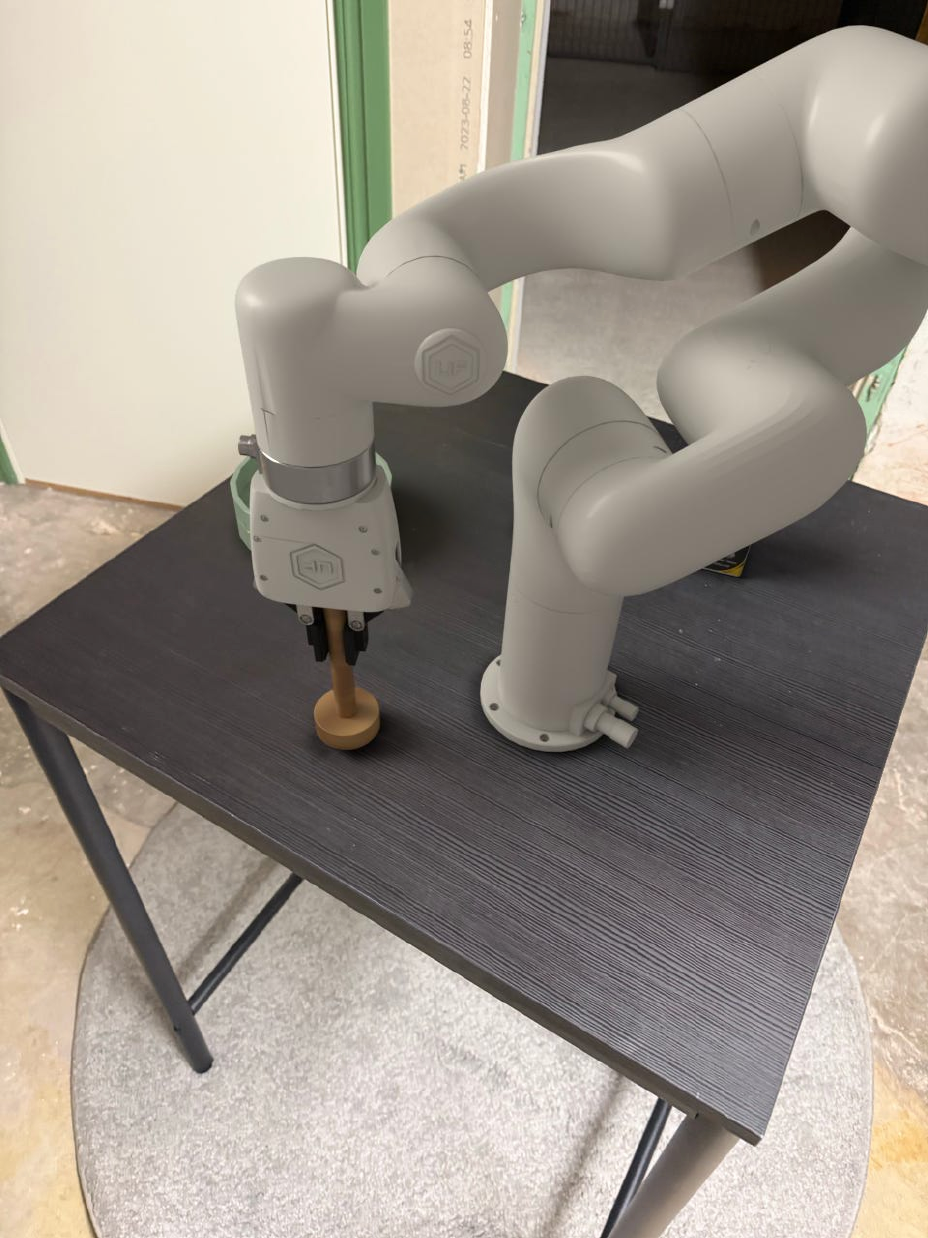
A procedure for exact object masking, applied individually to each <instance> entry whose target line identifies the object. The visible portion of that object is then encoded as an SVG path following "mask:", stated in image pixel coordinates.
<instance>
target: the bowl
mask: <svg viewBox="0 0 928 1238" xmlns="http://www.w3.org/2000/svg"><path fill="white" fill-rule="evenodd" d="M376 464H377V465H380V466H382V467H383V469H384V471H385V474H386V476H387V479H388V482H389V486H390V489H391V493H392V497H393V496H394V495H393V475H392V471H391V470H390V469H391V468H390V467H389V465H388V463H387V461H386V460H385V459H384V458H383V457H382V456H381V455H380V454H379V453H378V452H376ZM257 470H258V463H257V462H256V460H255V459H252V458H250V456H245V458H243V460H242V461H240V462H239V464H238V465H237V466H236V467H235V468H234V471H233V473H232V476H231V479H230V480H229V481H230V482H229V483H230V491H231V497H232V503H233V509H234V514H235V519H236V526H237V531H238V536H239V538H240V540H242V542H243V543H244V544H245V546H246V547H247V548H248V550H249V551H251V536H250V489H251V480H252V477H253V475H254V474H255V473H256V471H257ZM393 498H394V497H393Z"/></svg>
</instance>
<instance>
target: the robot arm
mask: <svg viewBox="0 0 928 1238" xmlns="http://www.w3.org/2000/svg"><path fill="white" fill-rule="evenodd" d="M820 211H828V212H829V213H831V214H832V215H834V216H835V217H837V219H840V220H842V222H844V223H846V225H848V226H849V229H848V230H847V232H846V233H845V234H844V235H843V237H842V238H841V240H839V241H838V242H837V243H836V245H835V246H834V247H833V248H832V249H830V250H829V251H828V252H827V253H825V254H824V255H822V257H820V258H818V259H817V260H816V261H814V262H813V263H811V264H809V265H808V266H806V267H804V268H802V269H800V270H799V271H798V272H796V273H795V274H793V275H791V276H789V277H787V278H786V279H784V280H781V281H780V282H778V283H777V284H775V285H772V286H771V287H769V288H767V289H765V290H764V291H761V292H760V293H758V294H756V295H754V296H752V297H750V298H749V299H747V300H745V301H743V302H741V303H739V304H737V305H736V306H733V307H732V308H730V309H728V310H726V311H724V312H723V313H721V314H718V315H717V316H715V317H714V318H711V319H709V320H708V321H706V322H704V323H703V324H701V325H698V326H697V327H696V328H694V329H692V330H691V331H689V332H688V333H686V334H685V335H683V336H682V337H681V338H679V339H678V340H676V342H675V343H674V344H672V346H670V347H669V348H668V350H667V351H666V352H665V354H664V356H663V357H662V358H661V360H660V363H659V366H658V369H657V372H656V373H657V374H656V382H655V383H656V391H657V394H658V399H659V401H660V404H661V406H662V407H663V409H664V412H665V413H666V415H667V417H668V419H669V420H670V422H671V423H672V425H673V427H674V428H675V430H676V431H677V432H678V434H679V435H680V436H681V437H682V439H683V440H684V441H685V443H686V444H687V446H685V447H684V448H682V449H680V450H678V451H676V452H674V453H673V452H672V450H670V448H669V446H668V444H667V443H666V441H665V440H664V437H662V435H661V434H660V433H659V431H658V430H657V429H656V427H655V426H654V425H653V423H652V422H651V420H650V419H649V417H648V416H647V415H646V413H645V412H644V411H643V410H642V408H641V406H640V405H638V404H637V402H636V401H635V400H634V399H633V398H632V397H631V396H630V395H629V394H628V393H627V392H626V391H624V390H623V389H622V388H620V387H619V386H618V385H615V384H614V383H612V382H611V381H609V380H606V379H603V378H600V377H596V376H591V375H574V376H567V377H564V378H562V379H559V380H557V381H554V382H552V383H551V384H549V385H548V386H545V387H544V388H543V389H542V390H541V391H540V392H538V393H537V394H536V395H535V396H534V397H533V399H531V400H530V402H529V404H528V405H527V406H526V408H525V409H524V411H523V413H522V415H521V417H520V419H519V422H518V424H517V427H516V430H515V433H514V439H513V445H512V457H511V458H512V461H511V466H512V468H511V469H512V470H511V472H512V474H511V475H512V494H513V495H512V496H513V527H512V528H513V529H512V543H511V544H512V545H511V557H510V564H509V565H510V566H509V575H508V585H507V593H506V605H505V612H504V624H503V634H502V643H501V651H500V652H501V653H500V654H499V655H498V656H496V657H495V658H494V659H493V660H492V661H491V662H490V664H488V666H487V668H486V669H485V671H484V673H483V675H482V679H481V681H480V690H479V691H480V692H479V695H480V703H481V708H482V711H483V713H484V715H485V716H486V718H487V720H488V721H489V723H490V724H491V725H492V726H493V728H494V729H495V730H496V731H497V732H499V733H500V734H501V735H502V736H503V737H505V738H506V739H507V740H509V741H511V742H514V743H516V744H517V745H519V746H521V747H522V746H523V747H524V748H528V749H530V750H535V751H540V752H545V753H546V752H548V753H549V752H550V753H562V752H568V751H569V752H571V751H575V750H578V749H581V748H585V747H586V746H589V745H590V744H593V743H594V742H596V741H597V740H599V738H601V737H602V736H603V735H606V736H607V737H608V738H609V739H610V740H612V741H613V742H615V743H617V744H619V745H620V746H622V747H623V748H625V749H629V748H630V747H631V745H632V744H633V743H634V741H635V740H636V738H637V735H638V733H639V729H638V728H637V727H635V726H633V725H632V724H630V723H628V722H626V721H625V720H623V719H621V718H618V717H616V716H615V715H616V713H617V714H618V715H619V716H622V717H623V718H625V719H627V720H628V721H630V722H633V720H634V719H636V716H637V715H638V713H639V710H640V709H639V708H640V707H638V706H636V705H634V704H633V703H631V702H630V701H627V700H624V699H622V698H621V697H619V696H618V692H617V690H616V686H615V684H616V680H617V677H618V675H617V674H616V673H614V672H612V671H610V670H608V668H609V665H610V664H609V663H610V659H611V655H612V651H613V648H614V643H615V639H616V634H617V629H618V625H619V621H620V617H621V612H622V607H623V603H624V599H625V597H632V596H633V597H634V596H638V595H643V594H646V593H649V592H653V591H655V590H658V589H661V588H664V587H665V586H668V585H671V584H672V583H674V582H677V581H680V580H681V579H683V578H685V577H687V576H690V575H691V574H693V573H696V572H697V571H700V570H702V568H704V567H706V566H708V565H710V564H712V563H714V562H716V561H718V560H720V559H722V558H724V557H726V556H728V555H730V554H732V553H734V552H736V551H738V550H740V549H742V548H744V547H746V546H748V545H750V544H751V545H752V544H755V543H757V542H759V541H760V540H762V539H765V538H767V537H769V536H771V535H773V534H774V533H777V532H779V531H781V530H783V529H785V528H786V527H788V526H790V525H792V524H795V522H798V521H800V520H801V519H803V518H805V517H806V516H808V515H810V514H811V513H814V512H815V511H816V510H818V509H819V508H820V507H822V506H823V505H824V504H825V503H826V502H828V501H829V500H830V499H832V498H833V496H834V495H835V494H837V492H838V491H840V489H841V488H842V487H844V485H845V484H846V483H847V481H848V480H849V479H850V477H851V476H852V475H853V473H854V472H855V470H856V469H857V467H858V466H859V464H860V462H861V460H862V457H863V454H864V452H865V450H866V449H865V448H866V445H867V438H868V428H867V427H868V426H867V420H866V416H865V413H864V410H863V408H862V406H861V404H860V403H859V401H858V399H857V398H856V397H855V395H854V394H853V392H852V391H851V390H850V389H849V388H848V387H850V386H852V385H854V384H855V383H857V382H859V381H860V380H862V379H864V378H865V377H867V376H869V375H871V374H872V373H874V372H876V371H878V370H880V369H882V367H884V366H886V365H888V363H890V362H891V361H892V360H894V359H895V358H897V356H898V355H899V354H900V353H901V352H902V351H903V350H904V349H905V348H906V347H907V346H908V345H909V344H910V342H911V341H912V340H913V338H914V337H915V335H916V334H917V332H918V330H919V329H920V327H921V325H922V323H923V321H924V319H925V317H926V315H927V312H928V45H927V44H926V43H922V42H920V41H917V40H915V39H912V38H909V37H906V36H905V35H902V34H899V33H896V32H894V31H890V30H888V29H885V28H881V27H876V26H871V25H870V26H869V25H862V24H861V25H860V24H859V25H847V26H843V27H839V28H834V29H832V30H829V31H826V32H825V33H822V34H819V35H816V36H815V37H813V38H810V39H808V40H805V41H804V42H802V43H800V44H798V45H796V46H794V47H792V48H791V49H789V50H787V51H785V52H783V53H781V54H779V55H777V56H775V57H773V58H772V59H769V60H768V61H766V62H764V63H762V64H760V65H758V66H756V67H754V68H752V69H750V70H748V71H746V72H745V73H742V74H741V75H739V76H737V77H735V78H733V79H731V80H729V81H728V82H726V83H724V84H722V85H720V86H718V87H717V88H714V89H712V90H711V91H709V92H707V93H705V94H703V95H701V96H700V97H697V98H696V99H694V100H692V101H689V102H688V103H686V104H684V105H682V106H680V107H677V108H676V109H673V110H671V111H670V112H667V113H666V114H664V115H662V116H660V117H658V118H656V119H654V120H652V121H651V122H648V123H647V124H645V125H643V126H640V127H638V128H636V129H634V130H632V131H630V132H628V133H625V134H623V135H621V136H617V137H614V138H611V139H607V140H601V141H595V142H588V143H584V144H579V145H574V146H570V147H567V148H563V149H560V150H556V151H555V150H554V151H552V152H546V153H542V154H537V155H533V156H529V157H524V158H519V159H516V160H512V161H508V162H505V163H502V164H499V165H496V166H493V167H490V168H488V169H485V170H483V171H480V172H478V173H476V174H473V175H470V176H469V177H467V178H464V179H462V180H459V181H457V182H456V183H455V184H452V185H450V186H448V187H447V188H445V189H443V190H441V191H439V192H437V193H435V194H433V195H431V196H430V197H427V198H426V199H424V200H422V201H420V202H418V203H417V204H415V205H413V206H411V207H410V208H408V209H406V210H404V211H403V212H401V213H399V214H398V215H396V216H394V217H393V218H392V219H390V220H389V221H388V222H387V223H385V224H384V225H383V226H382V227H381V228H380V229H378V230H377V231H376V232H375V233H374V235H372V236H371V238H370V240H368V242H367V243H366V245H365V247H364V248H363V250H362V253H361V254H360V256H359V260H358V264H357V266H356V267H357V268H356V274H355V272H353V271H352V270H351V269H350V268H348V267H347V266H345V265H343V264H342V263H340V262H338V261H333V260H330V259H327V258H320V257H313V256H292V257H284V258H283V257H282V258H277V259H274V260H269V261H267V262H264V263H262V264H259V265H257V266H255V267H253V268H252V269H251V270H249V271H248V272H247V273H245V275H244V276H243V277H241V280H239V283H238V285H237V287H236V291H235V294H234V310H235V312H234V313H235V319H236V327H237V331H238V337H239V343H240V349H241V355H242V361H243V368H244V373H245V378H246V379H245V380H246V385H247V391H248V396H249V402H250V409H251V414H252V420H253V421H252V422H253V427H254V432H255V434H254V433H252V434H251V435H245V434H241V435H240V436H239V437H238V442H237V450H238V451H237V452H238V454H239V455H240V456H244V457H247V456H250V458H252V459H255V460H256V462H257V463H258V470H257V471H256V473H255V474H254V475H253V477H252V480H251V489H250V536H251V550H250V552H251V560H252V561H251V562H252V568H253V576H254V580H253V582H252V587H253V588H254V589H255V590H256V591H258V592H259V593H260V595H262V596H263V597H264V598H266V599H269V600H270V601H273V602H278V603H282V604H284V605H285V606H287V607H288V608H289V609H291V610H292V611H293V612H295V613H296V614H297V620H298V621H299V622H300V623H301V624H302V625H305V629H306V630H305V631H306V637H307V644H308V646H312V647H313V652H314V660H315V662H317V663H323V662H325V661H326V660H327V657H328V656H329V650H328V642H327V634H326V626H325V618H324V610H323V608H331V609H340V610H347V613H348V617H347V620H346V623H345V626H344V629H343V641H344V650H345V659H346V663H348V665H350V666H353V667H355V666H356V665H357V662H358V658H359V655H360V652H364V653H365V652H367V649H368V646H369V638H370V636H369V633H370V632H369V622H371V621H372V620H374V619H375V618H377V617H379V616H380V615H381V614H383V613H384V612H385V611H387V610H388V611H395V610H399V609H405V608H408V607H410V606H411V603H412V600H413V596H414V589H413V588H412V586H411V584H410V582H409V580H408V578H407V577H406V575H405V572H404V571H403V569H402V546H401V545H402V543H401V537H400V531H399V523H398V516H397V511H396V507H395V502H394V497H392V495H393V492H392V493H391V489H390V486H389V482H388V479H387V476H386V474H385V471H384V469H383V467H382V466H380V465H377V464H376V453H377V451H376V438H375V437H376V435H375V417H374V403H383V404H394V405H401V406H412V407H424V408H446V407H453V406H454V407H455V406H461V405H463V404H467V403H470V402H473V401H474V400H476V399H478V398H480V397H482V396H483V395H484V394H486V393H487V392H488V391H489V390H491V388H493V386H494V385H496V383H497V382H498V380H499V379H500V377H501V375H502V373H503V371H504V369H505V367H506V364H507V359H508V353H509V349H508V348H509V342H508V333H507V330H506V326H505V323H504V321H503V318H502V316H501V313H500V311H499V310H498V307H497V305H496V303H494V301H493V299H492V297H491V296H490V294H489V292H491V291H494V290H495V289H498V288H499V287H501V286H504V285H505V284H508V283H511V282H513V281H515V280H518V279H520V278H524V277H527V276H529V275H534V274H537V273H541V272H547V271H554V270H565V269H566V270H567V269H576V270H577V269H579V270H589V271H597V272H600V273H601V272H602V273H608V274H611V275H616V276H620V277H625V278H629V279H635V280H636V279H637V280H645V281H655V282H656V281H657V282H669V281H675V280H680V279H683V278H684V277H687V276H689V275H691V274H693V273H695V272H696V271H699V270H700V269H702V268H704V267H707V266H708V265H710V264H712V263H715V262H716V261H719V260H720V259H722V258H725V257H726V256H728V255H730V254H732V253H734V252H736V251H739V250H741V249H742V248H744V247H746V246H749V245H751V244H752V243H754V242H757V241H758V240H760V239H763V238H765V237H766V236H768V235H770V234H773V233H774V232H776V231H777V232H778V231H779V230H781V229H782V228H784V227H785V228H786V227H787V226H788V225H791V224H793V223H795V222H797V221H799V220H801V219H803V218H805V217H807V216H810V215H811V214H814V213H817V212H820Z"/></svg>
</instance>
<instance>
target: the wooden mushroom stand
mask: <svg viewBox="0 0 928 1238" xmlns="http://www.w3.org/2000/svg"><path fill="white" fill-rule="evenodd" d="M323 610H324V618H325V626H326V634H327V642H328V650H329V652H328V657H329V665H330V673H331V674H330V675H331V682H332V689H330V690H329V691H327V692H326V693H324V694H323V695H322V696H321V697H320V698H319V699H318V700H317V702H316V704H315V706H314V710H313V717H314V724H315V730H316V734H317V736H318V738H319V739H320V741H322V742H323V743H324V744H325V745H327V746H328V747H330V748H333V749H336V750H341V751H350V750H356V749H360V748H362V747H364V746H366V745H367V744H369V743H371V741H373V739H375V738H376V736H377V734H378V732H379V730H380V726H381V717H380V706H379V703H378V700H377V698H376V697H375V696H374V695H373V694H372V693H371V692H369V691H368V690H366V689H364V688H362V687H358V686H355V685H356V684H355V675H354V666H350V665H348V663H346V659H345V650H344V641H343V629H344V626H345V623H346V620H347V617H348V611H347V610H340V609H331V608H323Z"/></svg>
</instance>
